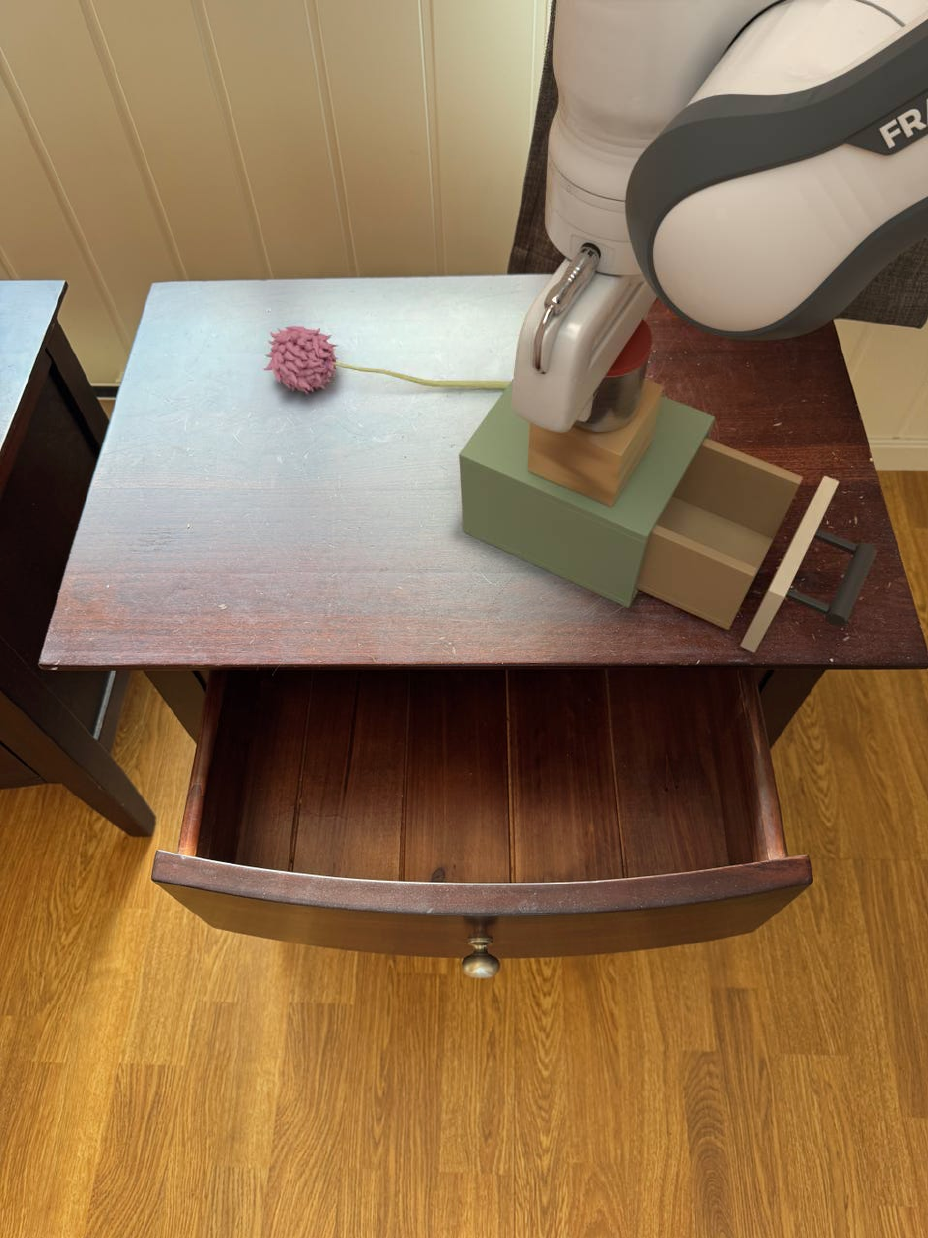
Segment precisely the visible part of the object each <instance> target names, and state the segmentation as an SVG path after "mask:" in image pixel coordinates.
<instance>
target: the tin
mask: <svg viewBox="0 0 928 1238" xmlns="http://www.w3.org/2000/svg"><path fill="white" fill-rule="evenodd" d="M653 339H654V338H653V333H652V330H651V327H650V325H649V324H648V323H647V321H646V319H645V320H644V319H642V321H641V322H640V324H639V325H638V327H637V328H636V330H635V331H634V333H633V334H632V336H631V337H630V339H629V340H628V342H627V343H626V345H625V347H624V348H623V350H622V351H621V353H620V354H619V356H618V357H617V359H616V360H615V362H614V363H613V365H612V366H611V368H610V369H609V371H608V372H607V374H606V375H605V377H604V378H603V380H602V381H601V383H600V385H599V386H598V388H597V390H599V392H598V398H597V405H596V407H595V409H594V410H593V412H592V413H591V415H590V416H589V418H588V419H587V421H584V422H582V421H579V420H576V421H575V423H574V425H576V426H577V427H579V428H582V429H585V430H588V431H593V432H609V431H613V430H617V429H619V428H622V427H624V426H625V425H627V424H628V423H629V422H631V421H632V420H633V418H634V417H635V416H636V414H637V412H638V410H639V406H640V401H641V395H642V390H643V385H644V380H645V379H646V374H647V369H648V365H649V364H648V363H649V359H650V354H651V351H652V346H653Z"/></svg>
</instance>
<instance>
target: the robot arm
mask: <svg viewBox="0 0 928 1238" xmlns="http://www.w3.org/2000/svg"><path fill="white" fill-rule="evenodd" d="M555 3H556V4H555V16H554V17H555V18H554V30H553V44H552V68H553V69H552V70H553V74H554V80H555V83H556V87H557V90H558V91H557V92H558V93H557V94H558V104H557V107H556V112H555V114H554V116H553V119H552V122H551V126H550V129H549V135H548V146H547V147H548V150H547V165H546V166H547V167H546V189H545V190H546V191H545V206H544V207H545V209H544V224H545V225H544V226H545V229H546V232H547V235H548V237H549V240H550V241H551V242H552V244H553V245H554V247H555V248H556V249H557V250H558V251H559V253H561V254H562V255H563V256H564V257H565V258H564V260H563V261H562V262H561V264H560V265H559V267H557V269H556V270H555V272H554V273H553V275H552V276H551V277H550V279H549V280H548V281H547V282H546V284H545V285H544V286H543V288H542V290H541V291H540V292H539V293H538V295H537V296H536V297H535V299H534V300H533V302H532V304H531V305H530V307H529V309H528V311H527V312H526V315H525V317H524V319H523V321H522V325H521V328H520V332H519V336H518V340H517V347H516V353H515V360H514V370H513V377H512V380H513V389H512V409H513V411H514V413H515V414H516V415H517V416H519V417H520V418H522V419H524V420H526V421H528V422H530V423H532V424H534V425H536V426H539V427H541V428H544V429H547V430H550V431H554V432H559V433H565V432H567V431H568V430H570V428H571V427H572V426H573V424H574V423H575V421H576V420H579V421H582V422H584V421H587V419H588V418H589V416H590V415H591V413H592V412H593V410H594V409H595V407H596V405H597V398H598V392H599V390H597V388H598V386H599V385H600V383H601V381H602V380H603V378H604V377H605V375H606V374H607V372H608V371H609V369H610V368H611V366H612V365H613V363H614V362H615V360H616V359H617V357H618V356H619V354H620V353H621V351H622V350H623V348H624V347H625V345H626V343H627V342H628V340H629V339H630V337H631V336H632V334H633V333H634V331H635V330H636V328H637V327H638V325H639V324H640V322H641V321H642V319H644V320H645V321H646V320H647V317H648V314H649V312H650V309H651V308H652V306H653V304H654V303H655V301H656V299H657V298H658V300H660V302H661V303H662V304H663V305H664V306H665V307H666V308H667V309H668V310H669V311H670V312H672V314H673V315H675V316H676V317H677V318H679V319H680V320H682V321H683V322H685V323H687V324H688V325H690V326H692V327H694V328H696V329H698V330H700V331H702V332H704V333H707V334H709V335H714V336H717V337H721V338H726V339H729V340H730V339H731V340H737V341H738V340H739V341H748V342H749V341H750V342H756V341H757V342H759V341H760V342H761V341H763V342H764V341H766V342H767V341H778V340H785V339H792V338H797V337H800V336H803V335H807V334H808V333H812V332H814V331H816V330H817V329H820V328H822V327H823V326H825V325H827V324H828V323H829V322H832V320H834V319H835V318H836V317H837V316H838V315H840V314H841V313H842V312H843V311H845V309H846V308H847V307H849V305H850V304H851V303H852V302H853V301H854V300H855V299H856V298H857V297H858V296H859V295H860V293H861V292H863V290H864V289H865V288H866V287H867V286H869V284H870V283H871V282H872V281H873V280H874V279H875V277H876V276H877V275H878V274H879V273H880V272H881V271H882V270H883V269H885V268H886V267H887V266H888V265H889V264H890V263H891V262H892V261H894V260H895V259H896V258H898V257H899V256H900V255H901V254H903V253H904V252H906V251H907V250H908V249H910V248H911V247H912V246H914V245H916V244H917V243H919V242H920V241H922V240H924V239H925V238H927V237H928V0H556V2H555Z"/></svg>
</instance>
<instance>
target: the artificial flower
mask: <svg viewBox="0 0 928 1238" xmlns="http://www.w3.org/2000/svg"><path fill="white" fill-rule="evenodd" d="M284 328H285V329H283V330H281V329H280V328H279V327H277V330H278V332H277V333H273V332H271V331H269V334H270V336H271V337H272V338H273V339H274V340H272V341H271V340H268V339H267V342H268V344H269V345H271V348H270V352H269V353H268V354H264V356H265V357H266V358H271V359H270V362H269V363H268V364H267V367H265V368H262V370H263V371H272V372H273V374H274V379H275V380H277V381H278V383H280V384H281V383H283V384H284V385H285V386H287V388H288V389H289V390H291V391H292V392H294V391H295V388H296V389H298V391H299V392H301V393H305V394H306V395H309V392H310V391H311V392H312V393H314V388H315V389H316V390H319V388H322V389H323V390H326V387H325V385H326V386H328V384H327V383H326V382H328V383H331V380H330V379H329V378H335V377H336V376H335V375H334V374H332V373H336V371H338V369H337V367H340V368H344V369H349V370H354V371H358V372H364V373H374V374H382V375H387V376H391V377H393V378H398V379H400V380H404V381H407V382H410V383H414V384H418V385H421V386H426V387H435V388H474V389H475V388H479V389H481V388H482V389H504V390H505V389H506V388H507V387H508V385H509V384H510V382H511V381H505V380H433V379H424V378H420V377H415V376H412V375H407V374H404V373H399V372H395V371H391V370H387V369H383V368H372V367H359V366H353V365H350V364H349V365H348V364H345V363H339V362H337V360H338V359H339V357H336V355H335V352H334V351H336V349H335V348H336V347H339V345H338V344H332V343H329V342H328V341H327V340H329V339H330V338H331V337H332V336H333V335H332V334H328V335H326V334H324V333H320V332H321V327H319V328H318V329H310V328H306V327H304V326H296V325H292V326H285V327H284ZM335 370H336V371H335ZM308 391H309V392H308Z"/></svg>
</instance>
